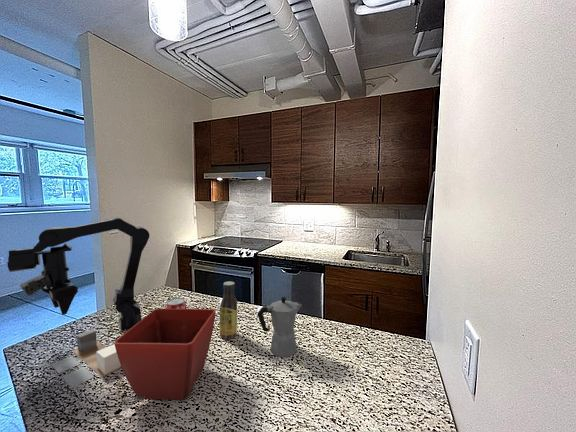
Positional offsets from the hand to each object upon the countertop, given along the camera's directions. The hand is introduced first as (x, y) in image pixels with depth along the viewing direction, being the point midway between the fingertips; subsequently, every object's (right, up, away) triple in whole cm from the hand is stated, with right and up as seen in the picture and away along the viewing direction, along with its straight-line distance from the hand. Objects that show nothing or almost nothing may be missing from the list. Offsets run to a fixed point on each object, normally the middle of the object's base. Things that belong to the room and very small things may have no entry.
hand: (60, 310), depth 87 cm
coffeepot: (+74, -13, -1) cm, 76 cm away
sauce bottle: (+55, -12, +8) cm, 57 cm away
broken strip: (+14, -14, -12) cm, 23 cm away
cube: (+25, -12, -11) cm, 30 cm away
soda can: (+36, -12, +8) cm, 39 cm away
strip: (+18, -13, -7) cm, 23 cm away
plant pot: (+45, -14, -16) cm, 50 cm away
